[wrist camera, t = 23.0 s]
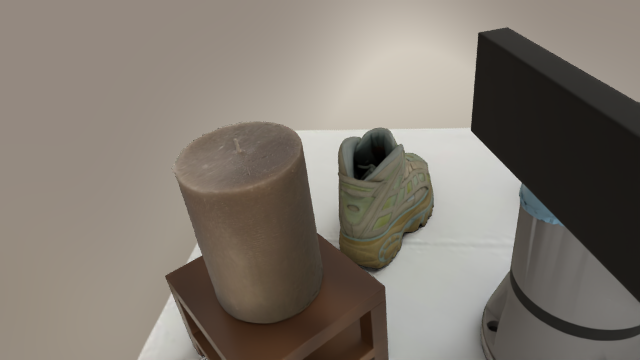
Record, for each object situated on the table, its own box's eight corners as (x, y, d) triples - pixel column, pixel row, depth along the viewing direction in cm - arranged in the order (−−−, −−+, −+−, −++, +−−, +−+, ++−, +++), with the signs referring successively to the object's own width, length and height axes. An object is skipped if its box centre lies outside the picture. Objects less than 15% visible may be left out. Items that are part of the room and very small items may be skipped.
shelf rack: (300, 278, 59) (287, 208, 53) (388, 360, 49) (385, 286, 43) (193, 345, 53) (164, 275, 47) (269, 457, 42) (245, 385, 36)
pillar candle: (341, 298, 42) (322, 148, 33) (229, 343, 40) (178, 193, 31) (301, 231, 50) (277, 94, 41) (205, 265, 47) (158, 127, 39)
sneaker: (467, 198, 67) (463, 96, 59) (378, 286, 57) (359, 176, 49) (402, 178, 74) (391, 84, 66) (312, 252, 64) (286, 152, 56)
